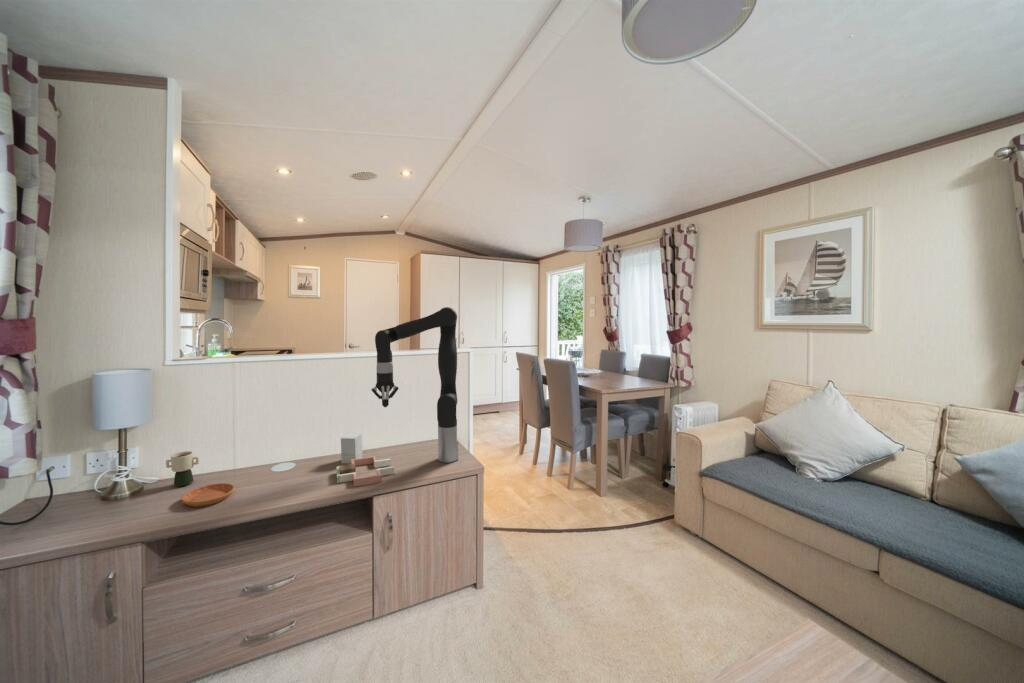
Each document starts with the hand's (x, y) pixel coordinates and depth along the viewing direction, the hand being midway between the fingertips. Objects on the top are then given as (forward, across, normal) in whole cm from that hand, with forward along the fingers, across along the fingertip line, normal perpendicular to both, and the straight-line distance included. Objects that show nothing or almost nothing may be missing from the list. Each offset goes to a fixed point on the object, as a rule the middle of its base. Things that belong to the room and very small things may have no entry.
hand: (385, 406), depth 185 cm
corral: (+27, +10, +11) cm, 31 cm away
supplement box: (+27, +15, -7) cm, 32 cm away
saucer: (+28, +67, +11) cm, 73 cm away
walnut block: (+27, +18, +11) cm, 34 cm away
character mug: (+27, +80, -8) cm, 85 cm away
